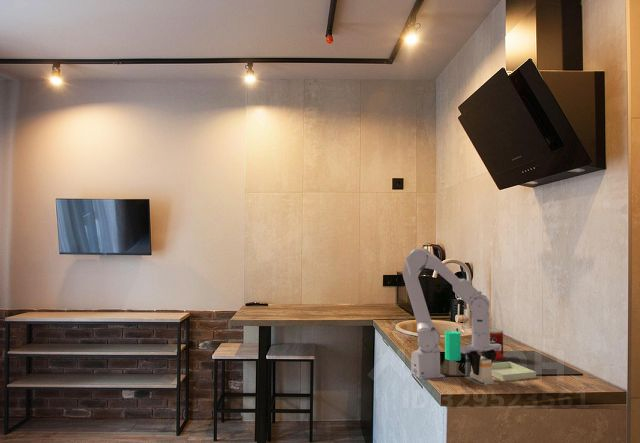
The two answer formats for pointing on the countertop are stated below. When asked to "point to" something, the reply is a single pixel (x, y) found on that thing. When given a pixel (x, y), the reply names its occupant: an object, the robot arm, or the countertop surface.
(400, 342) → the countertop surface
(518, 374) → the tray
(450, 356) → the candle
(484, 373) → the block
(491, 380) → the fuse holder
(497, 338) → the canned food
